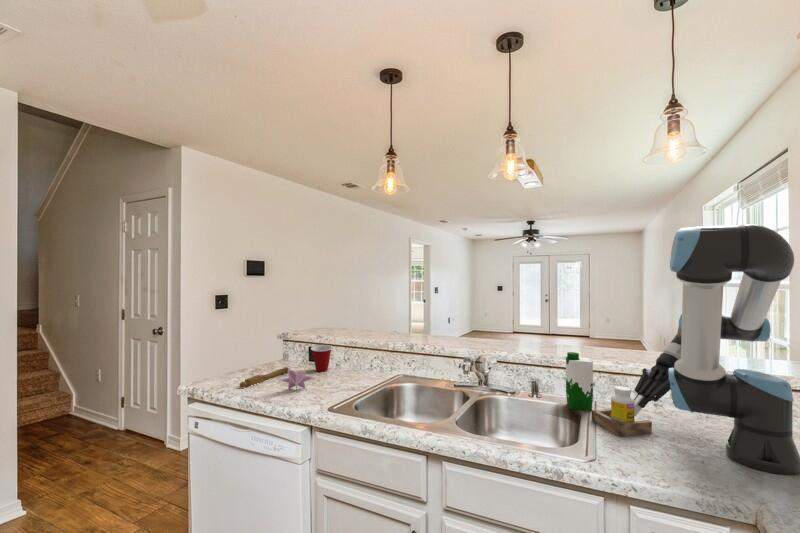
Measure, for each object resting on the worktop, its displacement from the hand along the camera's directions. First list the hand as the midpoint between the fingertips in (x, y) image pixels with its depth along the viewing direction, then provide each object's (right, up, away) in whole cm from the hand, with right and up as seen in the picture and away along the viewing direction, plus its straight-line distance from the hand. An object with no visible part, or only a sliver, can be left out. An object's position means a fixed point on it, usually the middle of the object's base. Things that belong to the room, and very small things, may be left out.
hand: (631, 412), depth 131 cm
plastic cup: (-116, -5, +71) cm, 136 cm away
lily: (-120, -5, +37) cm, 126 cm away
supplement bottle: (-4, -4, -2) cm, 6 cm away
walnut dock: (-5, -4, -1) cm, 6 cm away
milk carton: (-10, -4, +17) cm, 20 cm away
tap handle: (-139, -5, +54) cm, 149 cm away
